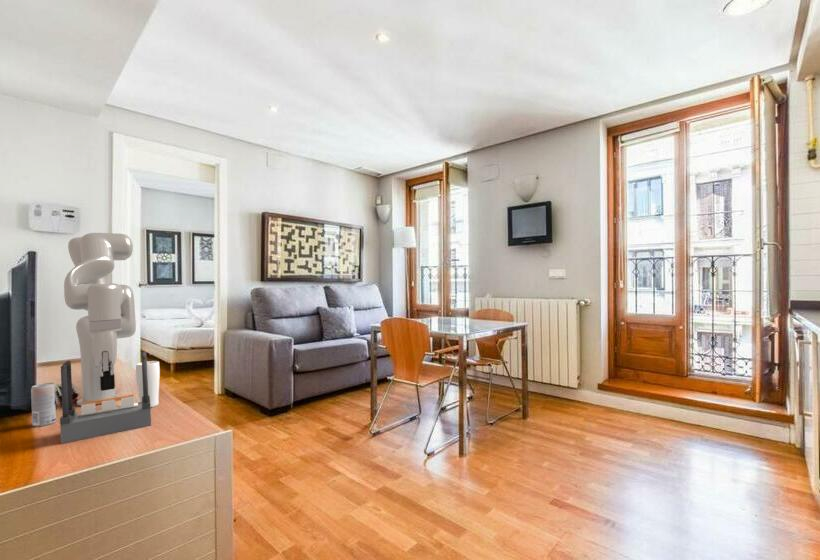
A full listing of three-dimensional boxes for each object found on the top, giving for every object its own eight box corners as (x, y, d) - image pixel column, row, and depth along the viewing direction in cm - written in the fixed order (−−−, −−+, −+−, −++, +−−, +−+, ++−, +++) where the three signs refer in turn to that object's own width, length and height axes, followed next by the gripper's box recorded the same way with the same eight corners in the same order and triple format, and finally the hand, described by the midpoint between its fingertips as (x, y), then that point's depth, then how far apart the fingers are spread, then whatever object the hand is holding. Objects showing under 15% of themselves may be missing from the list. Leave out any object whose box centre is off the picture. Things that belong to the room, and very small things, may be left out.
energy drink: (53, 419, 125) (51, 382, 125) (58, 422, 122) (56, 384, 122) (30, 425, 121) (28, 386, 121) (34, 428, 117) (33, 388, 117)
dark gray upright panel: (66, 414, 113) (64, 360, 113) (75, 413, 114) (73, 359, 114) (60, 425, 104) (57, 366, 104) (70, 423, 106) (67, 365, 106)
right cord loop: (142, 401, 123) (140, 351, 123) (149, 400, 124) (147, 351, 124) (142, 410, 115) (140, 356, 115) (150, 408, 116) (148, 355, 116)
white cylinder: (135, 411, 130) (133, 365, 130) (140, 405, 137) (138, 362, 137) (159, 407, 133) (157, 363, 133) (162, 402, 139) (161, 360, 139)
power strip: (66, 432, 113) (66, 415, 113) (150, 416, 124) (149, 400, 124) (61, 443, 105) (60, 425, 105) (151, 425, 116) (150, 408, 116)
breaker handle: (77, 416, 111) (77, 402, 111) (138, 405, 119) (137, 393, 119) (77, 417, 110) (76, 404, 110) (138, 406, 118) (137, 394, 118)
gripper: (91, 325, 118) (93, 386, 118) (85, 329, 106) (88, 397, 106) (122, 323, 123) (124, 382, 123) (120, 326, 110) (122, 392, 110)
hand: (107, 389), depth 114 cm, fingers closed
